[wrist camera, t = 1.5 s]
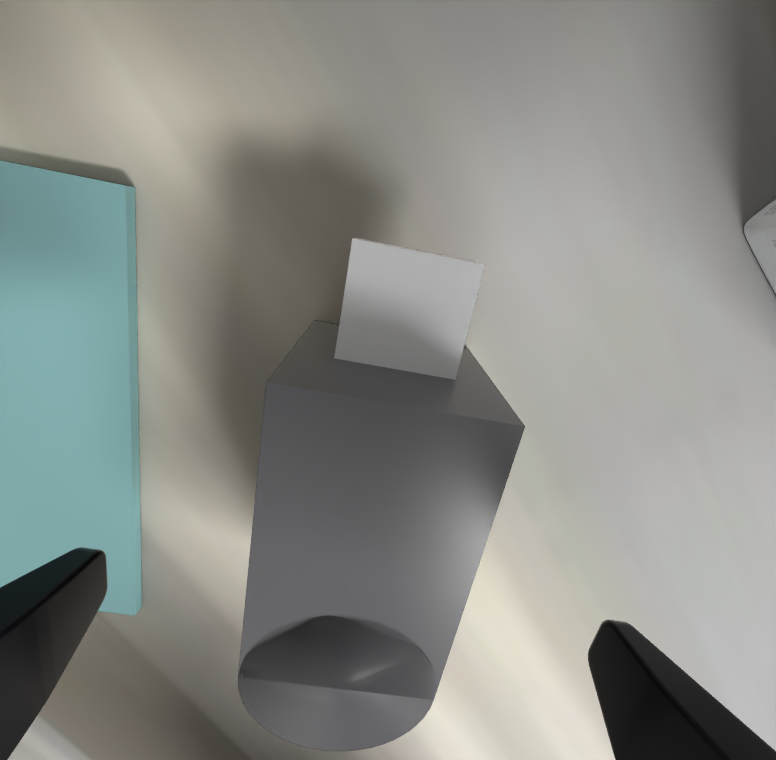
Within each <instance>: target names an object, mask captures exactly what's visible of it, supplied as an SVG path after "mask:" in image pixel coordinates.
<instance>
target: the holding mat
mask: <svg viewBox="0 0 776 760" xmlns="http://www.w3.org/2000/svg"><path fill="white" fill-rule="evenodd" d="M80 547H84V548H91V549H99V550H102V551H104V553H105V554H106V562H107V582H108V586H107V592H106V596H105V598H104V600H103V602H102V604H101V606H100V608H99V610H98V611H102V612H110V613H118V614H126V615H134V616H136V614H137V613H138V611H139V609H140V608H141V606H142V590H141V528H140V467H139V406H138V345H137V283H136V222H135V187H131V186H126V185H121V184H116V183H111V182H106V181H101V180H96V179H91V178H86V177H81V176H76V175H71V174H66V173H61V172H56V171H51V170H46V169H41V168H36V167H31V166H26V165H21V164H16V163H11V162H6V161H1V160H0V587H2V586H4V585H6V584H7V583H9V582H11V581H13V580H15V579H17V578H19V577H21V576H23V575H25V574H27V573H29V572H31V571H32V570H34V569H36V568H38V567H40V566H42V565H44V564H46V563H48V562H50V561H52V560H54V559H56V558H57V557H59V556H61V555H63V554H65V553H67V552H69V551H71V550H73V549H75V548H80Z"/></svg>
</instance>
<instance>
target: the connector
mask: <svg viewBox="0 0 776 760" xmlns="http://www.w3.org/2000/svg"><path fill="white" fill-rule="evenodd" d="M484 268H485V265H484V264H481V263H478V262H475V261H471V260H466V259H461V258H456V257H451V256H446V255H441V254H436V253H431V252H426V251H421V250H416V249H411V248H406V247H401V246H396V245H391V244H386V243H381V242H376V241H371V240H366V239H361V238H352V244H351V251H350V257H349V264H348V270H347V277H346V284H345V290H344V297H343V303H342V310H341V317H340V323H339V325H337V324H332V323H326V322H321V321H315V320H314V322H313V323H312V324H311V326H310V327H309V328H308V329H307V331H306V332H305V333H304V335H303V336H302V337H301V338H300V340H299V341H298V342H297V343H296V345H295V346H294V347H293V349H292V350H291V351H290V352H289V354H288V355H287V356H286V358H285V359H284V360H283V361H282V363H281V364H280V365H279V367H278V368H277V369H276V370H275V372H274V373H273V374H272V376H271V377H270V378H269V379H268V381H267V382H266V390H265V401H264V411H263V422H262V432H261V443H260V453H259V464H258V474H257V484H256V495H255V505H254V516H253V526H252V537H251V547H250V558H249V568H248V579H247V589H246V600H245V610H244V620H243V631H242V641H241V652H240V662H239V673H238V688H239V693H240V697H241V699H242V702H243V704H244V706H245V707H246V709H247V711H248V712H249V713H250V715H251V716H252V717H253V718H254V719H255V720H256V721H257V722H258V723H259V724H260V725H261V726H262V727H264V728H265V729H266V730H268V731H269V732H270V733H272V734H274V735H276V736H277V737H279V738H281V739H284V740H286V741H288V742H290V743H293V744H296V745H299V746H303V747H307V748H311V749H317V750H324V751H354V750H362V749H367V748H372V747H375V746H379V745H382V744H385V743H388V742H390V741H393V740H395V739H397V738H398V737H400V736H402V735H404V734H405V733H407V732H408V731H410V730H411V729H412V728H414V727H415V726H416V725H417V724H418V723H419V722H420V721H421V720H422V719H423V718H424V717H425V715H426V714H427V712H428V711H429V709H430V707H431V705H432V703H433V700H434V697H435V694H436V691H437V688H438V685H439V682H440V679H441V676H442V673H443V670H444V667H445V664H446V661H447V658H448V655H449V652H450V649H451V646H452V643H453V640H454V637H455V634H456V631H457V628H458V626H459V623H460V620H461V617H462V614H463V611H464V608H465V605H466V602H467V599H468V596H469V593H470V590H471V587H472V584H473V581H474V578H475V575H476V572H477V569H478V566H479V563H480V560H481V557H482V554H483V551H484V548H485V545H486V542H487V539H488V536H489V533H490V530H491V527H492V524H493V521H494V518H495V515H496V512H497V509H498V506H499V503H500V500H501V497H502V494H503V491H504V488H505V485H506V482H507V479H508V476H509V473H510V470H511V467H512V464H513V461H514V458H515V455H516V452H517V449H518V446H519V443H520V440H521V437H522V434H523V431H524V428H525V426H524V424H523V423H522V422H521V420H520V419H519V417H518V416H517V415H516V413H515V412H514V411H513V409H512V408H511V407H510V405H509V404H508V402H507V401H506V400H505V398H504V397H503V396H502V394H501V393H500V391H499V390H498V389H497V387H496V386H495V385H494V383H493V382H492V381H491V379H490V378H489V376H488V375H487V374H486V372H485V371H484V370H483V368H482V367H481V365H480V364H479V363H478V361H477V360H476V359H475V357H474V356H473V355H472V353H471V352H470V350H469V349H468V348H464V345H465V341H466V337H467V333H468V330H469V326H470V322H471V318H472V314H473V310H474V306H475V303H476V299H477V295H478V291H479V287H480V283H481V280H482V276H483V272H484Z"/></svg>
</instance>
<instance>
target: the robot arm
mask: <svg viewBox="0 0 776 760" xmlns="http://www.w3.org/2000/svg"><path fill="white" fill-rule="evenodd" d="M107 586H108V582H107V562H106V554H105V553H104V551H102V550H99V549H91V548H84V547H80V548H75V549H73V550H71V551H69V552H67V553H65V554H63V555H61V556H59V557H57V558H56V559H54V560H52V561H50V562H48V563H46V564H44V565H42V566H40V567H38V568H36V569H34V570H32V571H31V572H29V573H27V574H25V575H23V576H21V577H19V578H17V579H15V580H13V581H11V582H9V583H7V584H6V585H4V586H2V587H0V760H7V759H8V758H9V756H10V755H11V753H12V752H13V750H14V749H15V748H16V746H17V745H18V743H19V742H20V740H21V739H22V737H23V736H24V734H25V733H26V731H27V730H28V728H29V727H30V725H31V724H32V723H33V721H34V720H35V718H36V716H37V715H38V713H39V712H40V710H41V709H42V707H43V706H44V704H45V703H46V701H47V699H48V698H49V696H50V694H51V693H52V691H53V689H54V688H55V686H56V684H57V682H58V681H59V679H60V677H61V675H62V674H63V672H64V670H65V668H66V666H67V665H68V663H69V661H70V659H71V658H72V656H73V654H74V652H75V650H76V649H77V647H78V645H79V643H80V642H81V640H82V638H83V636H84V634H85V633H86V631H87V629H88V627H89V626H90V624H91V622H92V620H93V618H94V617H95V615H96V613H97V611H98V610H99V608H100V606H101V604H102V602H103V600H104V598H105V596H106V592H107ZM588 662H589V667H590V671H591V674H592V678H593V681H594V685H595V688H596V692H597V696H598V699H599V703H600V706H601V710H602V714H603V717H604V721H605V724H606V728H607V732H608V735H609V739H610V742H611V746H612V749H613V753H614V756H615V759H616V760H776V751H775V750H774V749H772V748H771V747H770V746H769V745H768V744H767V743H766V742H764V741H763V740H762V739H761V738H760V737H759V736H758V735H756V734H755V733H754V732H753V731H752V730H751V729H750V728H748V727H747V726H746V725H745V724H744V723H743V722H742V721H740V720H739V719H738V718H737V717H736V716H735V715H733V714H732V713H731V712H730V711H729V710H728V709H727V708H725V707H724V706H723V705H722V704H721V703H720V702H719V701H717V700H716V699H715V698H714V697H713V696H712V695H711V694H709V693H708V692H707V691H706V690H705V689H704V688H703V687H701V686H700V685H699V684H698V683H697V682H696V681H695V680H693V679H692V678H691V677H690V676H689V675H688V674H687V673H685V672H684V671H683V670H682V669H681V668H680V667H679V666H677V665H676V664H675V663H674V662H673V661H672V660H671V659H669V658H668V657H667V656H666V655H665V654H664V653H663V652H661V651H660V650H659V649H658V648H657V647H656V646H654V645H653V644H652V643H651V642H650V641H649V640H648V639H646V638H645V637H644V636H643V635H642V634H641V633H640V632H638V631H637V630H636V629H635V628H634V627H633V626H631V625H630V624H628V623H626V622H621V621H614V620H605V621H604V622H602V624H601V626H600V628H599V630H598V632H597V634H596V636H595V638H594V640H593V642H592V644H591V646H590V648H589V652H588Z"/></svg>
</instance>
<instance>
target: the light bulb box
mask: <svg viewBox="0 0 776 760" xmlns="http://www.w3.org/2000/svg"><path fill="white" fill-rule="evenodd" d="M744 234H745V236H746V239H747V241H748V243H749V245H750V247H751V249H752V251H753V253H754V255H755V257H756V259H757V260H758V262H759V264H760V266H761V268H762V270H763V272H764V274H765V276H766V277H767V279H768V281H769V283H770V284H771V286H772V288H773V290H774V292H775V294H776V199H775V200H774V201H772V202H771V203H770V204H768V205H767V206H766V207H764V208H763V209H762V210H760V211H759V212H758V213H757V214H755V215H754V216H753V217H752V218H750V219H749V220H748V221H747V222H746V224H745V226H744Z"/></svg>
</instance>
